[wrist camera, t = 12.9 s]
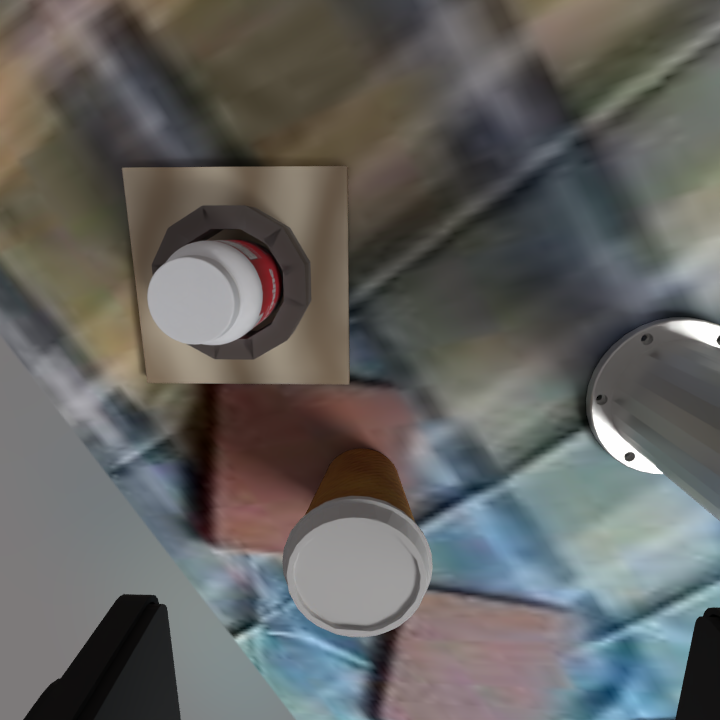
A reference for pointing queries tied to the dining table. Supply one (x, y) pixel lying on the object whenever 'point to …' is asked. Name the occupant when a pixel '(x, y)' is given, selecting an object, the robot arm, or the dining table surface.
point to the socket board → (275, 233)
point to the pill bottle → (215, 291)
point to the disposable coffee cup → (358, 550)
